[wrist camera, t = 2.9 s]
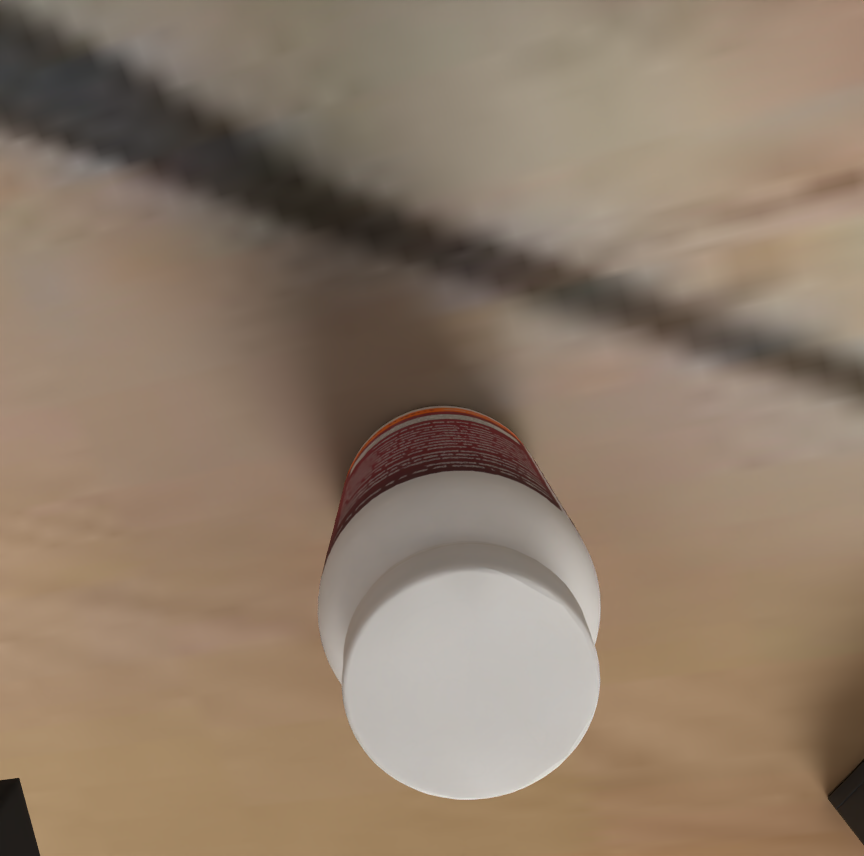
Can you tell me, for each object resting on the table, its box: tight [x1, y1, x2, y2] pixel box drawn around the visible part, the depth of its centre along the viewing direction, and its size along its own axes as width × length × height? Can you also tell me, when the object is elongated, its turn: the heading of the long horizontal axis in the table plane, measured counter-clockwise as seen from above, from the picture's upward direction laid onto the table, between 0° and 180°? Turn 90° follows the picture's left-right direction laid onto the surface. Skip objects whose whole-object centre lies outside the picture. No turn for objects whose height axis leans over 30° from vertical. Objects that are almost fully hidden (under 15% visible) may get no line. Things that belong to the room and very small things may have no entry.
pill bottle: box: [318, 406, 601, 800], centre depth 19 cm, size 6×6×11 cm
